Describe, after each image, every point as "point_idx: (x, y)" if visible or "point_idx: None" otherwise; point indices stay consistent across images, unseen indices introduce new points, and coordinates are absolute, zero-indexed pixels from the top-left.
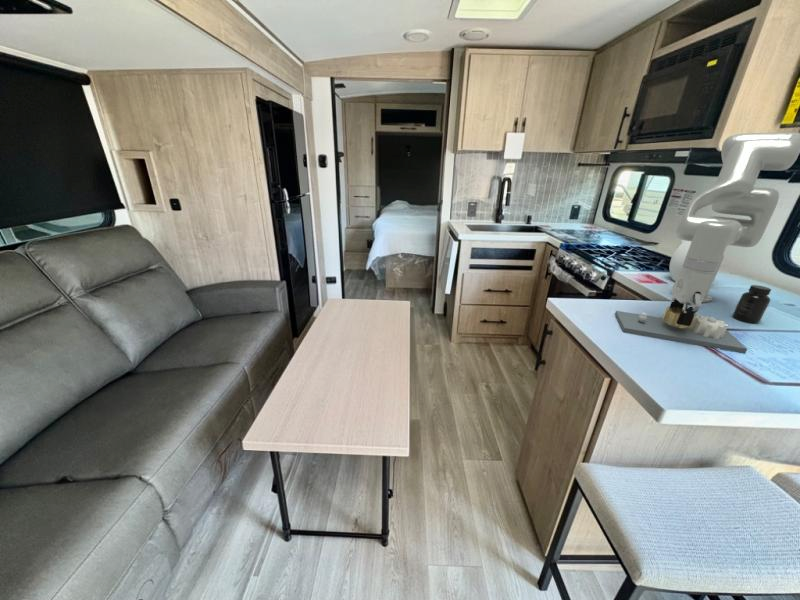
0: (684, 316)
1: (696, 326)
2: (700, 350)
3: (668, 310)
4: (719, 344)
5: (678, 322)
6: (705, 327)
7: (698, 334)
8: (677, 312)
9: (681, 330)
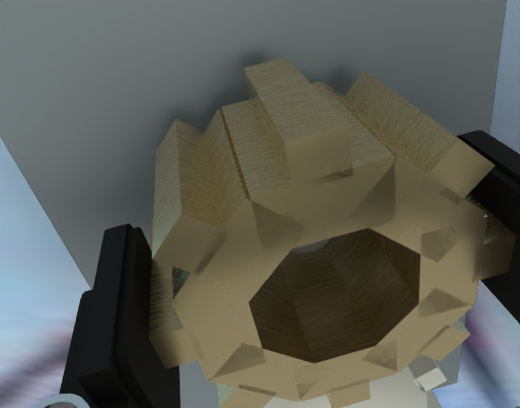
0: (74, 363)
1: None
2: (21, 302)
3: (284, 162)
4: None
5: (106, 246)
6: None
7: None
8: (254, 274)
9: None
